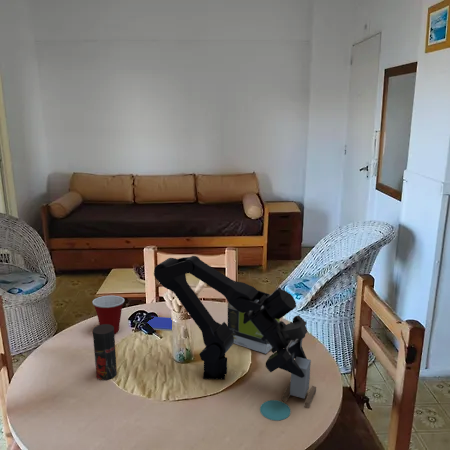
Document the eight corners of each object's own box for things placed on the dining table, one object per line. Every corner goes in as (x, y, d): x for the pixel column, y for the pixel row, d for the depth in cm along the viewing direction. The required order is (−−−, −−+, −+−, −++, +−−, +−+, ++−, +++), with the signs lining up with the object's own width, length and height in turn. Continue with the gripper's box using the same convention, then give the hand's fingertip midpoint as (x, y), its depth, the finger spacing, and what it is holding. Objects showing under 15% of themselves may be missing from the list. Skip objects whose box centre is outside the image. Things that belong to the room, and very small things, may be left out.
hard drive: (138, 326, 163) (172, 328, 162) (144, 315, 171) (177, 317, 170) (138, 330, 164) (172, 332, 162) (144, 319, 171) (177, 321, 170)
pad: (260, 420, 118) (260, 419, 118) (259, 400, 125) (259, 399, 125) (292, 420, 117) (292, 420, 117) (288, 400, 125) (288, 400, 125)
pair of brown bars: (282, 400, 125) (282, 396, 125) (290, 384, 132) (290, 380, 132) (308, 408, 122) (309, 403, 122) (315, 391, 129) (316, 386, 129)
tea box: (279, 341, 156) (281, 301, 152) (265, 355, 147) (267, 313, 143) (241, 329, 163) (242, 291, 159) (226, 342, 155) (226, 301, 151)
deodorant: (120, 374, 137) (118, 328, 133) (103, 383, 132) (100, 336, 128) (109, 366, 140) (106, 322, 136) (92, 374, 136) (88, 329, 132)
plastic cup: (131, 325, 166) (129, 295, 162) (117, 340, 155) (115, 308, 152) (103, 322, 168) (101, 291, 165) (88, 336, 158) (86, 304, 154)
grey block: (289, 394, 125) (291, 365, 123) (294, 384, 130) (296, 356, 127) (304, 398, 124) (306, 369, 121) (308, 388, 128) (310, 359, 126)
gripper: (279, 327, 114) (320, 377, 113) (299, 298, 130) (335, 341, 129) (248, 348, 119) (287, 396, 118) (271, 317, 135) (306, 359, 134)
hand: (305, 371), depth 125 cm, fingers closed on grey block, 5 cm apart
